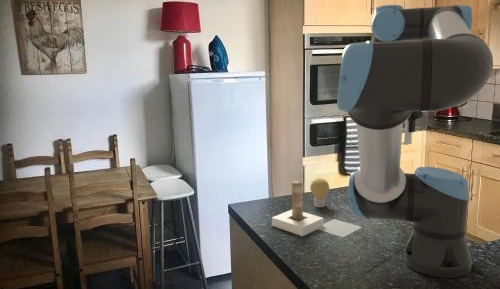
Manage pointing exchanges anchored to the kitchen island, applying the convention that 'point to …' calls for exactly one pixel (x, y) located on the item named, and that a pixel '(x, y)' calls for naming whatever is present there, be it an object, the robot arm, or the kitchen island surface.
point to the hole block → (298, 223)
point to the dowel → (297, 201)
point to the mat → (339, 228)
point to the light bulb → (319, 191)
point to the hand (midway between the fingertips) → (384, 141)
